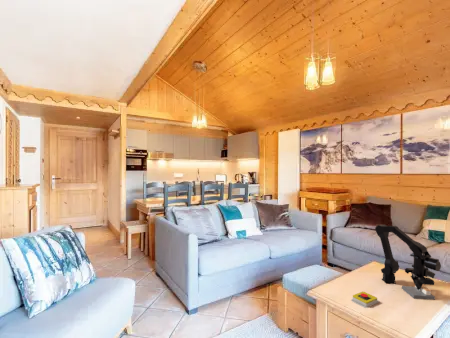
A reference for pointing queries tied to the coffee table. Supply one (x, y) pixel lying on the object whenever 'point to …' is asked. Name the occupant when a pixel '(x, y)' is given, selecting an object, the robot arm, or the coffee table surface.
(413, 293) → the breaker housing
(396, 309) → the coffee table surface
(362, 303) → the emergency button
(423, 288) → the knob
